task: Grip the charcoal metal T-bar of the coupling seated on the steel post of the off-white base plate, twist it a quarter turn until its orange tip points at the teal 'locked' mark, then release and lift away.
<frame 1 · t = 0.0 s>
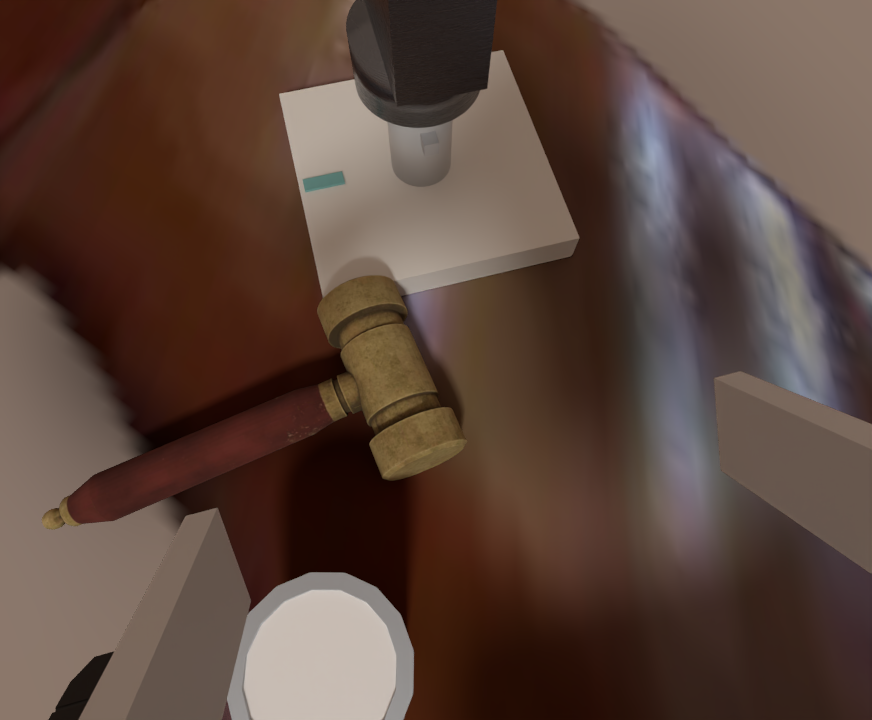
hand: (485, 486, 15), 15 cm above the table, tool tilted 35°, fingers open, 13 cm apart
shot glass: (348, 647, 27), on the table
gavel: (253, 446, 31), on the table
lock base: (421, 183, 36), on the table
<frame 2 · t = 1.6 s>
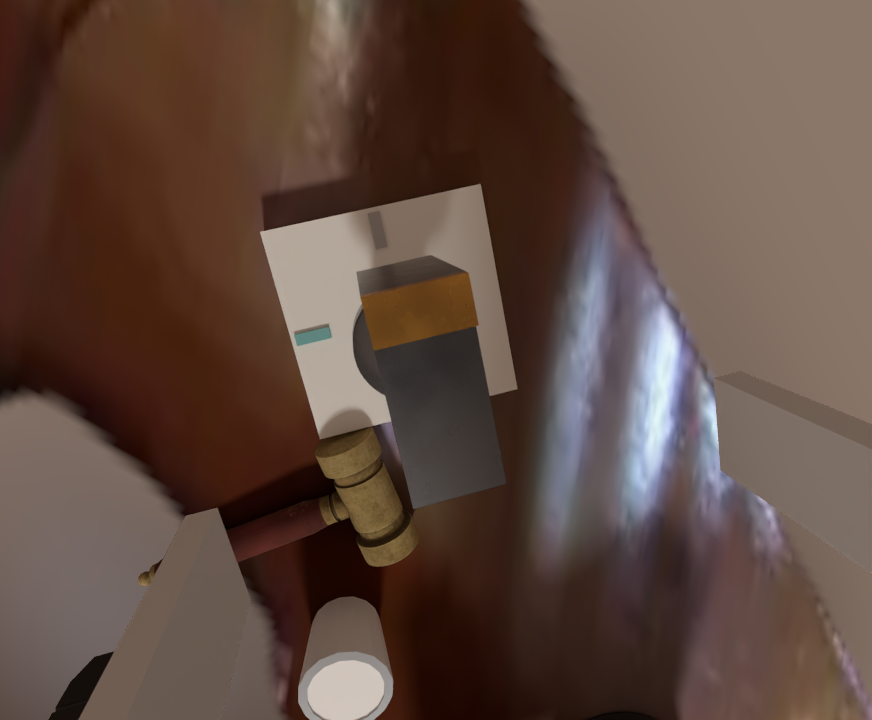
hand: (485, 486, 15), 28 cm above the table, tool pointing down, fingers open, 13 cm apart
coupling: (419, 359, 28), point 15 cm above the table, hinge at 0.0°
shot glass: (346, 623, 48), on the table
gavel: (271, 519, 45), on the table
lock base: (395, 311, 42), on the table
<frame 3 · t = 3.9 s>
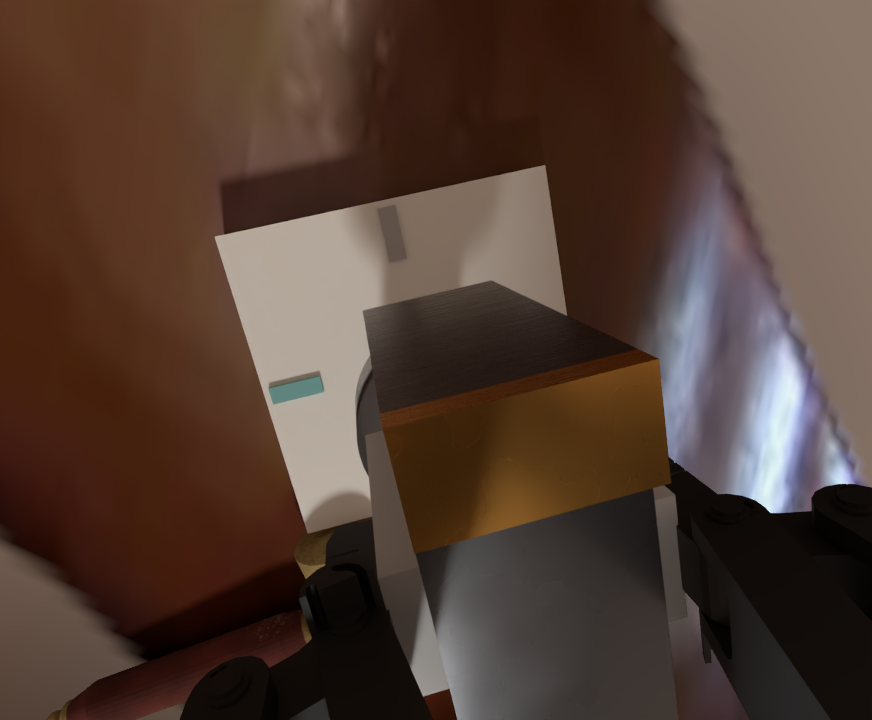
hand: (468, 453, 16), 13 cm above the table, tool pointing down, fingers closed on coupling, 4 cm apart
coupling: (479, 476, 15), point 15 cm above the table, hinge at 0.0°, touching gripper
gavel: (235, 632, 32), on the table
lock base: (415, 349, 29), on the table
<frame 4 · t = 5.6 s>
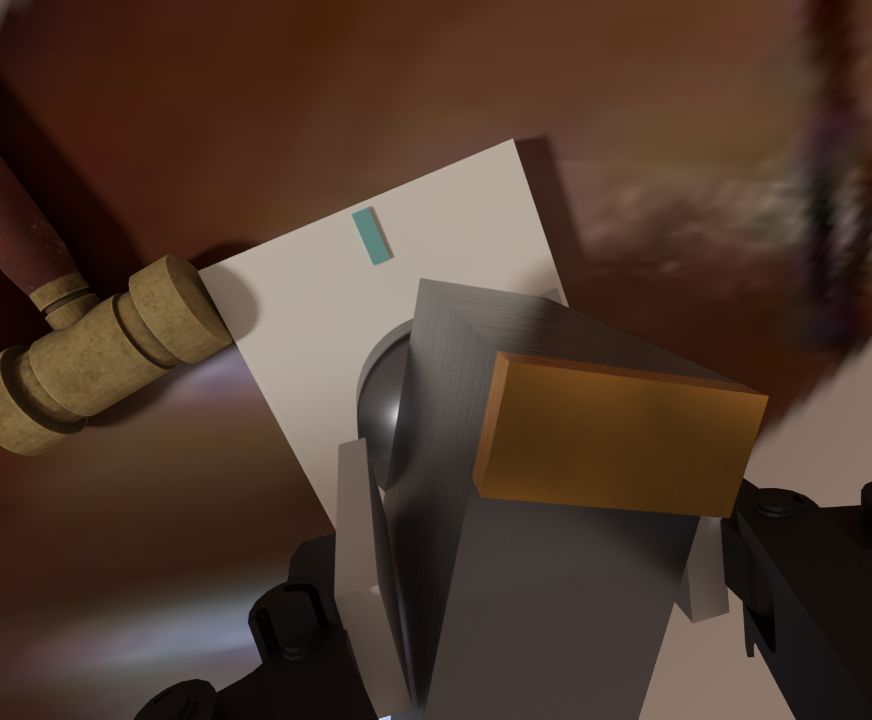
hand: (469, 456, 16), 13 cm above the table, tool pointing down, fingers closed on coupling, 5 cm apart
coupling: (481, 472, 15), point 15 cm above the table, hinge at 58.1°, touching gripper
gavel: (8, 188, 25), on the table
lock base: (416, 345, 29), on the table
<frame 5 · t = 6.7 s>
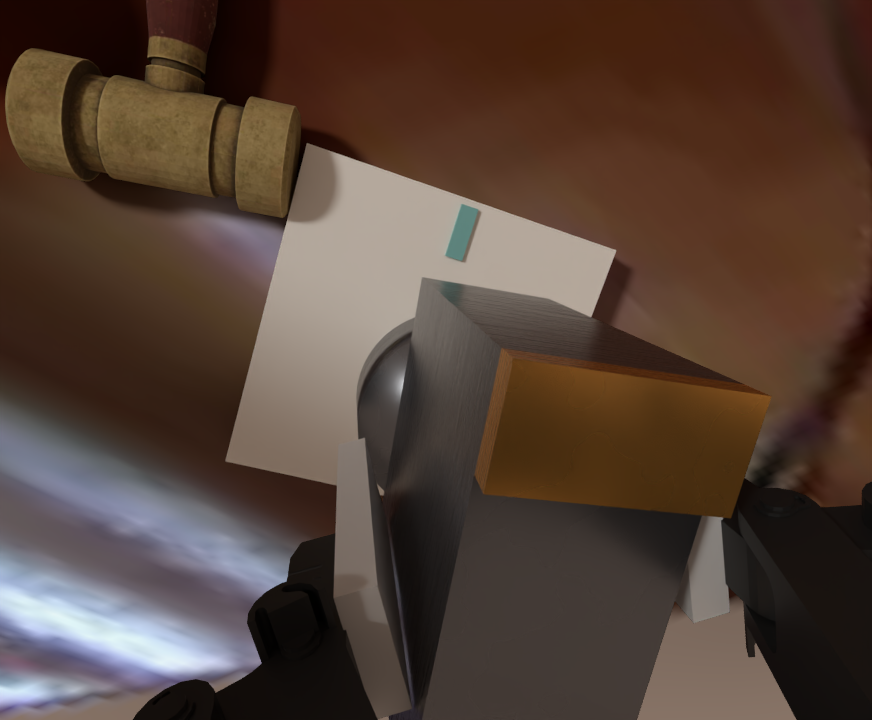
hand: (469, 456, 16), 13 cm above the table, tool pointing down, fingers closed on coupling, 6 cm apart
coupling: (482, 472, 15), point 15 cm above the table, hinge at 97.4°, touching gripper
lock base: (416, 345, 29), on the table
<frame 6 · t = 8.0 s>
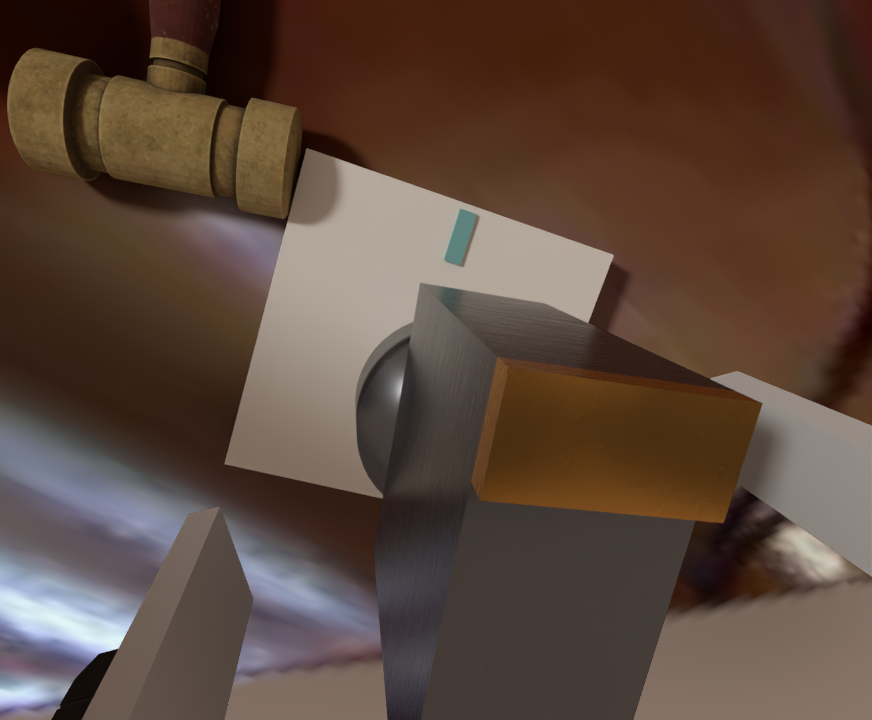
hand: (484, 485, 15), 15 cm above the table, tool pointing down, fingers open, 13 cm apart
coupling: (479, 476, 15), point 15 cm above the table, hinge at 97.7°
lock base: (415, 349, 29), on the table
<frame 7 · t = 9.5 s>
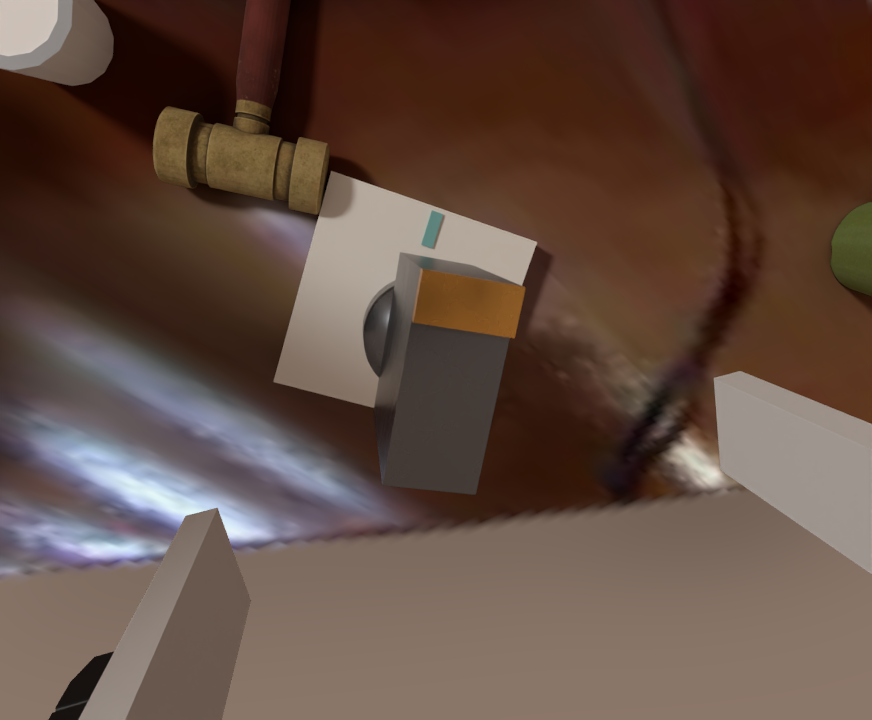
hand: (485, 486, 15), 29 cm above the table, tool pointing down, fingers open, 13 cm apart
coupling: (430, 354, 28), point 15 cm above the table, hinge at 97.7°
shot glass: (66, 37, 35), on the table
plant pot: (863, 244, 47), on the table
gavel: (269, 37, 37), on the table
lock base: (403, 307, 42), on the table
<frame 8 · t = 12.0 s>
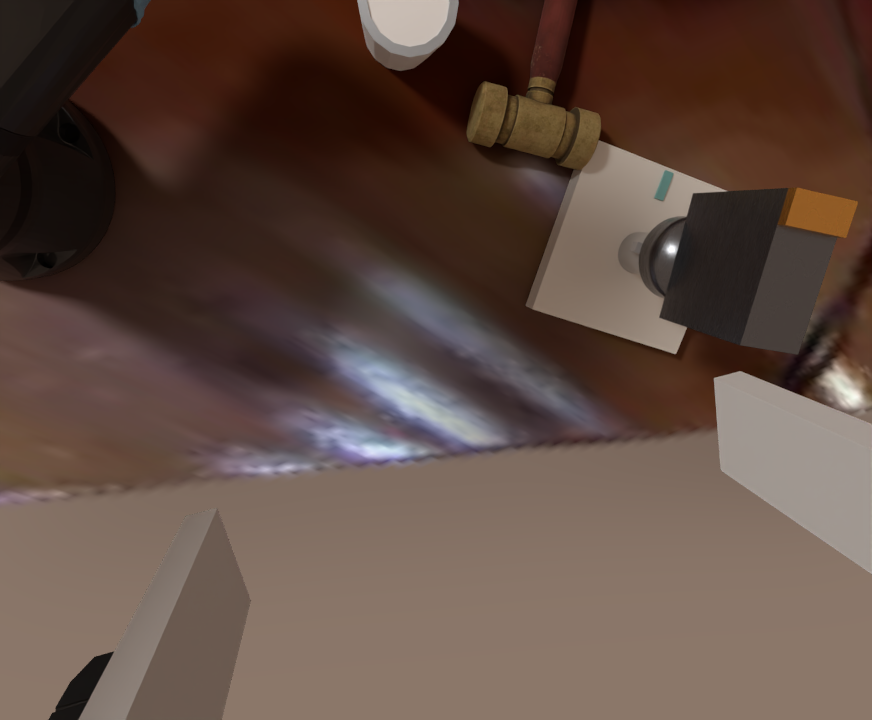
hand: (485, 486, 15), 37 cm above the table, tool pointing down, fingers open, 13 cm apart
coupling: (729, 265, 38), point 15 cm above the table, hinge at 97.7°
shot glass: (399, 32, 45), on the table
gavel: (548, 28, 47), on the table
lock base: (626, 251, 52), on the table
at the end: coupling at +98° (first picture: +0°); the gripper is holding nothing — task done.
